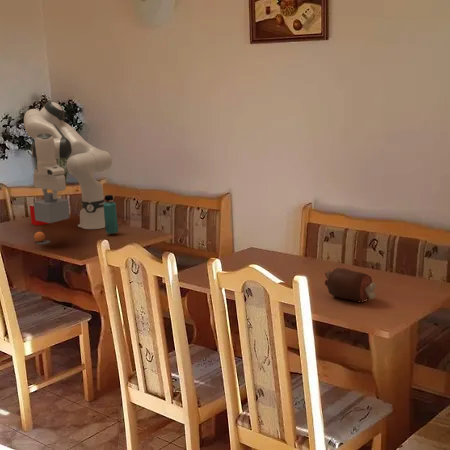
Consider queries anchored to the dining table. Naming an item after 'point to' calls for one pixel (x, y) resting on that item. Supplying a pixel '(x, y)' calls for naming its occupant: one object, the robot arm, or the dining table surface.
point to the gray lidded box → (51, 209)
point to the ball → (39, 236)
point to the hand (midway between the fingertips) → (50, 198)
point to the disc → (43, 242)
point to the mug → (34, 217)
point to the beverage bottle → (110, 215)
